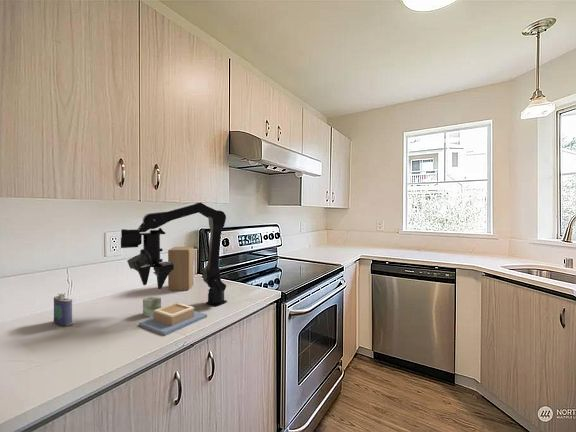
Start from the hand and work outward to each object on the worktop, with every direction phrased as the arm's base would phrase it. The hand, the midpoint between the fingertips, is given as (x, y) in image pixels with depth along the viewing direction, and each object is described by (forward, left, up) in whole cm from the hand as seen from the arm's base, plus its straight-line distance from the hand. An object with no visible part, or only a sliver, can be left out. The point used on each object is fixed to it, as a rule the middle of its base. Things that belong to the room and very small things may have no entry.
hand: (152, 286), depth 110 cm
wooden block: (-29, -19, -11) cm, 36 cm away
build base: (0, +13, -10) cm, 17 cm away
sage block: (0, 0, -10) cm, 11 cm away
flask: (+22, -18, -11) cm, 30 cm away
